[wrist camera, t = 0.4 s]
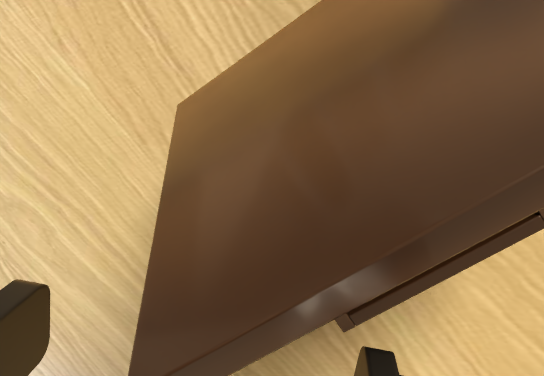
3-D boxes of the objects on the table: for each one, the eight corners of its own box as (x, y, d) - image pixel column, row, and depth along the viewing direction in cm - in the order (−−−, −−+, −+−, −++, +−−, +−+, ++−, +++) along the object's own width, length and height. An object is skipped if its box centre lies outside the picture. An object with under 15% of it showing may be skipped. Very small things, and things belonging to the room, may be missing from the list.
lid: (788, 81, 6) (787, 32, 6) (151, 417, 9) (121, 399, 9) (416, -44, 18) (407, -63, 18) (188, 118, 21) (176, 104, 20)
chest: (482, 164, 31) (563, 219, 21) (336, 248, 34) (343, 333, 23) (377, -14, 29) (409, -51, 18) (229, 91, 31) (185, 110, 21)
